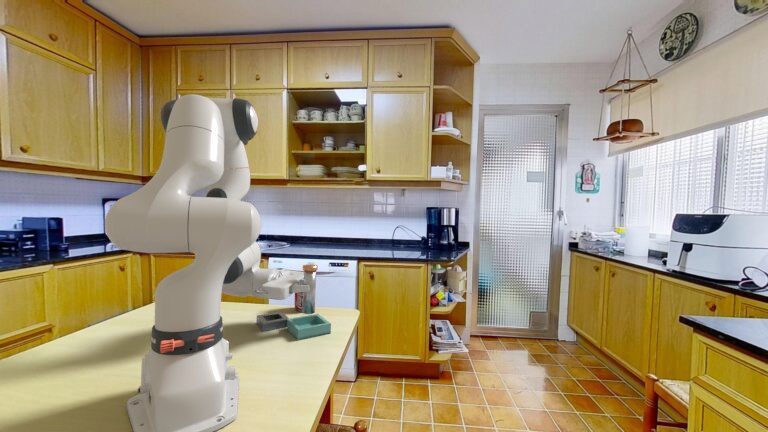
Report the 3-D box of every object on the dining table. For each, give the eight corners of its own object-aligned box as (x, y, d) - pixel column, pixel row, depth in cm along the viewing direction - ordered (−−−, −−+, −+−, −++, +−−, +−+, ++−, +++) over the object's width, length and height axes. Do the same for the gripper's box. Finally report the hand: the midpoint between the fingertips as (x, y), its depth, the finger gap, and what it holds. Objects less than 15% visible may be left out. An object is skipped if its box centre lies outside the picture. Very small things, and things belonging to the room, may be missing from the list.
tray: (330, 333, 94) (330, 323, 94) (298, 340, 89) (298, 329, 89) (317, 322, 102) (317, 313, 102) (287, 328, 97) (287, 318, 97)
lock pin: (318, 313, 95) (319, 266, 95) (304, 315, 93) (305, 267, 92) (312, 308, 99) (314, 264, 98) (299, 311, 96) (300, 265, 96)
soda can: (290, 311, 113) (291, 278, 113) (301, 305, 120) (301, 274, 120) (307, 313, 111) (308, 279, 111) (317, 307, 118) (318, 276, 118)
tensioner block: (289, 326, 98) (289, 319, 98) (262, 331, 94) (262, 323, 94) (281, 319, 105) (281, 311, 105) (256, 323, 100) (256, 315, 100)
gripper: (251, 281, 86) (300, 284, 85) (282, 267, 107) (322, 269, 105) (251, 303, 86) (299, 307, 85) (282, 285, 107) (321, 288, 106)
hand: (312, 286), depth 95 cm, fingers closed on lock pin, 4 cm apart
